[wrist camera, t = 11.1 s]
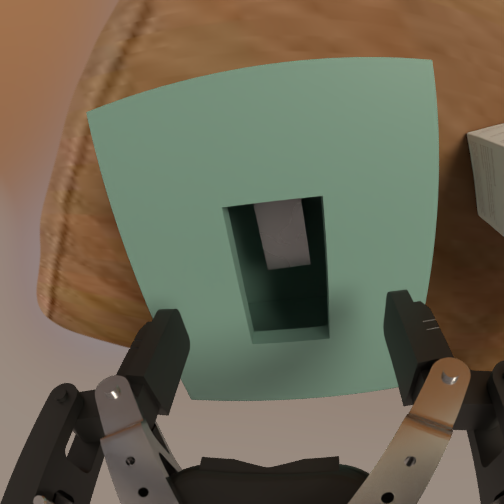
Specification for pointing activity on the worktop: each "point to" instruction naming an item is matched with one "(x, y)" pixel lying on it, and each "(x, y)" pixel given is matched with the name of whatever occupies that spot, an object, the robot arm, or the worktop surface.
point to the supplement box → (489, 173)
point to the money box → (274, 189)
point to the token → (283, 233)
